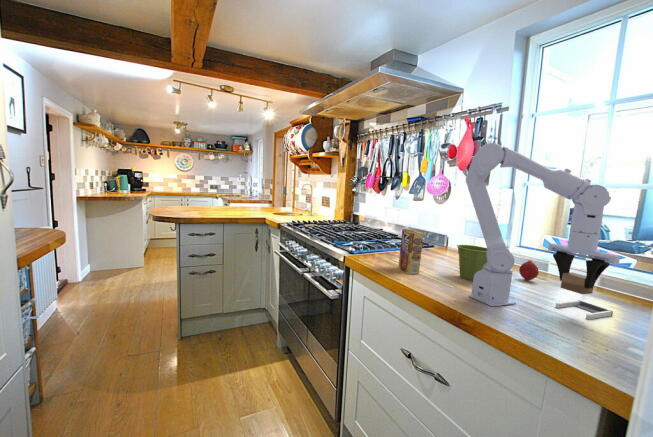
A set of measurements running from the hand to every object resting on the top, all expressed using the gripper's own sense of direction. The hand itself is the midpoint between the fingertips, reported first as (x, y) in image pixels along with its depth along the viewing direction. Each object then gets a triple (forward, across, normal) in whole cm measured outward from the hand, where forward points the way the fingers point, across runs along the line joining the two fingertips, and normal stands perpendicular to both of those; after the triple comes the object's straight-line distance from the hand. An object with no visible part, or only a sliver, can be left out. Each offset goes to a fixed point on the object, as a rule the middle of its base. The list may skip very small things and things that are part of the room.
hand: (575, 284), depth 76 cm
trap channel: (+8, +1, -7) cm, 11 cm away
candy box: (+9, +43, +19) cm, 48 cm away
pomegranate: (+9, +25, -20) cm, 33 cm away
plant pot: (+9, +31, +1) cm, 32 cm away
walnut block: (+2, 0, 0) cm, 2 cm away
